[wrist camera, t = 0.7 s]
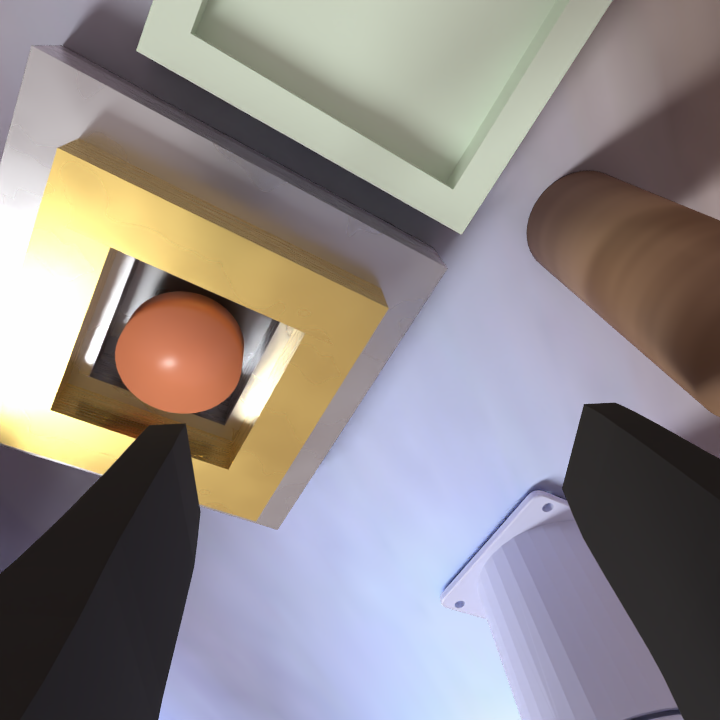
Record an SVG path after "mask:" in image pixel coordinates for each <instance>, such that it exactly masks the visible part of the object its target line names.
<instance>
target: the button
mask: <svg viewBox="0 0 720 720" xmlns="http://www.w3.org/2000/svg"><path fill="white" fill-rule="evenodd" d="M243 355H244V339H243V334H242V331H241V329H240V326H239V325H238V323H237V321H236V320H235V318H234V317H233V315H232V314H231V313H230V312H229V311H228V310H227V309H226V308H224V307H223V306H222V305H221V304H219V303H218V302H216V301H214V300H213V299H211V298H209V297H206V296H203V295H201V294H197V293H193V292H185V291H175V292H167V293H163V294H159V295H157V296H154V297H152V298H150V299H148V300H146V301H145V302H144V303H142V304H141V305H140V306H139V307H138V308H137V309H136V310H135V312H134V313H133V314H132V316H131V318H130V319H129V321H128V323H127V324H126V326H125V328H124V330H123V331H122V333H121V335H120V337H119V339H118V342H117V345H116V351H115V362H116V367H117V370H118V373H119V375H120V377H121V379H122V381H123V383H124V384H125V386H126V387H127V388H128V389H129V390H130V391H131V393H133V394H134V395H135V396H136V397H137V398H138V399H140V400H141V401H143V402H144V403H146V404H148V405H150V406H152V407H154V408H157V409H159V410H163V411H166V412H171V413H180V414H189V413H197V412H201V411H205V410H208V409H211V408H213V407H215V406H217V405H218V404H220V403H221V402H223V401H224V400H225V399H226V398H228V397H229V396H230V394H231V393H232V392H233V391H234V389H235V388H236V386H237V384H238V381H239V379H240V375H241V369H242V362H243Z"/></svg>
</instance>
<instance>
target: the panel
mask: <svg viewBox="0 0 720 720" xmlns="http://www.w3.org/2000/svg"><path fill="white" fill-rule="evenodd" d="M446 270H447V267H446V265H445V264H444V262H443V261H442V260H441V258H440V257H439V255H438V254H437V253H436V251H435V250H434V248H433V247H431V246H429V245H427V244H426V243H424V242H422V241H420V240H418V239H416V238H415V237H413V236H411V235H409V234H407V233H405V232H404V231H402V230H400V229H398V228H396V227H394V226H392V225H391V224H389V223H387V222H385V221H383V220H381V219H380V218H378V217H376V216H374V215H372V214H370V213H369V212H367V211H365V210H363V209H361V208H359V207H358V206H356V205H354V204H352V203H350V202H348V201H347V200H345V199H343V198H341V197H339V196H337V195H336V194H334V193H332V192H330V191H328V190H326V189H325V188H323V187H321V186H319V185H317V184H315V183H314V182H312V181H310V180H308V179H306V178H304V177H303V176H301V175H299V174H297V173H295V172H293V171H291V170H290V169H288V168H286V167H284V166H282V165H280V164H279V163H277V162H275V161H273V160H271V159H269V158H268V157H266V156H264V155H262V154H260V153H258V152H257V151H255V150H253V149H251V148H249V147H247V146H246V145H244V144H242V143H240V142H238V141H236V140H235V139H233V138H231V137H229V136H227V135H225V134H224V133H222V132H220V131H218V130H216V129H214V128H213V127H211V126H209V125H207V124H205V123H203V122H202V121H200V120H198V119H196V118H194V117H192V116H190V115H189V114H187V113H185V112H183V111H181V110H179V109H178V108H176V107H174V106H172V105H170V104H168V103H167V102H165V101H163V100H161V99H159V98H157V97H156V96H154V95H152V94H150V93H148V92H146V91H145V90H143V89H141V88H139V87H137V86H135V85H134V84H132V83H130V82H128V81H126V80H124V79H123V78H121V77H119V76H117V75H115V74H113V73H112V72H110V71H108V70H106V69H104V68H102V67H101V66H99V65H97V64H95V63H93V62H91V61H89V60H88V59H86V58H84V57H82V56H80V55H78V54H77V53H75V52H73V51H71V50H69V49H67V48H66V47H64V46H62V45H32V46H31V49H30V53H29V57H28V61H27V65H26V68H25V72H24V76H23V80H22V84H21V87H20V91H19V95H18V99H17V103H16V106H15V110H14V114H13V118H12V122H11V125H10V129H9V133H8V137H7V141H6V144H5V148H4V152H3V156H2V160H1V163H0V445H2V446H5V447H8V448H12V449H15V450H18V451H21V452H25V453H28V454H31V455H34V456H38V457H41V458H44V459H48V460H51V461H54V462H57V463H61V464H64V465H67V466H70V467H74V468H77V469H80V470H84V471H87V472H90V473H93V474H97V475H100V476H102V475H103V474H104V473H105V472H106V471H107V470H108V469H109V468H110V467H111V466H112V464H113V463H114V462H115V461H116V460H117V459H118V458H119V457H120V456H121V455H122V454H123V453H124V451H125V450H126V449H127V448H128V447H129V446H130V445H131V444H132V443H133V442H134V441H135V439H136V438H137V437H138V436H139V435H140V434H141V433H142V432H143V431H144V430H145V429H146V428H147V427H148V426H149V425H163V424H184V423H186V428H187V434H188V440H189V446H190V452H191V458H192V464H193V470H194V476H195V482H196V488H197V494H198V500H199V506H201V507H205V508H208V509H211V510H214V511H218V512H221V513H224V514H227V515H231V516H234V517H237V518H241V519H244V520H247V521H250V522H254V523H257V524H260V525H263V526H267V527H270V528H273V529H276V530H278V528H279V527H280V525H281V524H282V522H283V521H284V519H285V518H286V516H287V514H288V513H289V511H290V510H291V508H292V507H293V505H294V504H295V502H296V501H297V499H298V498H299V496H300V494H301V493H302V491H303V490H304V488H305V487H306V485H307V484H308V482H309V481H310V479H311V478H312V476H313V474H314V473H315V471H316V470H317V468H318V467H319V465H320V464H321V462H322V461H323V459H324V458H325V456H326V454H327V453H328V451H329V450H330V448H331V447H332V445H333V444H334V442H335V441H336V439H337V438H338V436H339V434H340V433H341V431H342V430H343V428H344V427H345V425H346V424H347V422H348V421H349V419H350V418H351V416H352V414H353V413H354V411H355V410H356V408H357V407H358V405H359V404H360V402H361V401H362V399H363V398H364V396H365V394H366V393H367V391H368V390H369V388H370V387H371V385H372V384H373V382H374V381H375V379H376V378H377V376H378V374H379V373H380V371H381V370H382V368H383V367H384V365H385V364H386V362H387V361H388V359H389V358H390V356H391V354H392V353H393V351H394V350H395V348H396V347H397V345H398V344H399V342H400V341H401V339H402V338H403V336H404V335H405V333H406V331H407V330H408V328H409V327H410V325H411V324H412V322H413V321H414V319H415V318H416V316H417V315H418V313H419V311H420V310H421V308H422V307H423V305H424V304H425V302H426V301H427V299H428V298H429V296H430V295H431V293H432V291H433V290H434V288H435V287H436V285H437V284H438V282H439V281H440V279H441V278H442V276H443V275H444V273H445V271H446ZM175 291H185V292H193V293H197V294H201V295H203V296H206V297H209V298H211V299H213V300H214V301H216V302H218V303H219V304H221V305H222V306H223V307H224V308H226V309H227V310H228V311H229V312H230V313H231V314H232V315H233V317H234V318H235V320H236V321H237V323H238V325H239V326H240V329H241V331H242V334H243V339H244V355H243V362H242V369H241V375H240V379H239V381H238V384H237V386H236V388H235V389H234V391H233V392H232V393H231V394H230V396H229V397H228V398H226V399H225V400H224V401H223V402H221V403H220V404H218V405H217V406H215V407H213V408H211V409H208V410H205V411H201V412H197V413H189V414H180V413H171V412H166V411H163V410H159V409H157V408H154V407H152V406H150V405H148V404H146V403H144V402H143V401H141V400H140V399H138V398H137V397H136V396H135V395H134V394H133V393H131V391H130V390H129V389H128V388H127V387H126V386H125V384H124V383H123V381H122V379H121V377H120V375H119V373H118V370H117V367H116V362H115V351H116V345H117V342H118V339H119V337H120V335H121V333H122V331H123V330H124V328H125V326H126V324H127V323H128V321H129V319H130V318H131V316H132V314H133V313H134V312H135V310H136V309H137V308H138V307H139V306H140V305H141V304H142V303H144V302H145V301H146V300H148V299H150V298H152V297H154V296H157V295H159V294H163V293H167V292H175Z"/></svg>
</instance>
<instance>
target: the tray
mask: <svg viewBox="0 0 720 720" xmlns="http://www.w3.org/2000/svg"><path fill="white" fill-rule="evenodd" d="M611 2H612V0H153V2H152V5H151V8H150V11H149V14H148V17H147V20H146V23H145V26H144V29H143V32H142V35H141V38H140V41H139V44H138V47H137V50H136V51H137V52H139V53H141V54H143V55H144V56H146V57H148V58H150V59H151V60H153V61H155V62H157V63H158V64H160V65H162V66H164V67H166V68H167V69H169V70H171V71H173V72H174V73H176V74H178V75H180V76H181V77H183V78H185V79H187V80H189V81H190V82H192V83H194V84H196V85H197V86H199V87H201V88H203V89H204V90H206V91H208V92H210V93H212V94H213V95H215V96H217V97H219V98H220V99H222V100H224V101H226V102H227V103H229V104H231V105H233V106H235V107H236V108H238V109H240V110H242V111H243V112H245V113H247V114H249V115H250V116H252V117H254V118H256V119H258V120H259V121H261V122H263V123H265V124H266V125H268V126H270V127H272V128H273V129H275V130H277V131H279V132H281V133H282V134H284V135H286V136H288V137H289V138H291V139H293V140H295V141H296V142H298V143H300V144H302V145H304V146H305V147H307V148H309V149H311V150H312V151H314V152H316V153H318V154H319V155H321V156H323V157H325V158H327V159H328V160H330V161H332V162H334V163H335V164H337V165H339V166H341V167H342V168H344V169H346V170H348V171H349V172H351V173H353V174H355V175H357V176H358V177H360V178H362V179H364V180H365V181H367V182H369V183H371V184H372V185H374V186H376V187H378V188H380V189H381V190H383V191H385V192H387V193H388V194H390V195H392V196H394V197H395V198H397V199H399V200H401V201H403V202H404V203H406V204H408V205H410V206H411V207H413V208H415V209H417V210H418V211H420V212H422V213H424V214H426V215H427V216H429V217H431V218H433V219H434V220H436V221H438V222H440V223H441V224H443V225H445V226H447V227H449V228H450V229H452V230H454V231H456V232H457V233H459V234H461V235H462V233H463V232H464V230H465V229H466V227H467V226H468V224H469V222H470V221H471V219H472V218H473V216H474V215H475V213H476V212H477V210H478V209H479V207H480V205H481V204H482V202H483V201H484V199H485V198H486V196H487V195H488V193H489V191H490V190H491V188H492V187H493V185H494V184H495V182H496V181H497V179H498V177H499V176H500V174H501V173H502V171H503V170H504V168H505V167H506V165H507V163H508V162H509V160H510V159H511V157H512V156H513V154H514V153H515V151H516V150H517V148H518V146H519V145H520V143H521V142H522V140H523V139H524V137H525V136H526V134H527V132H528V131H529V129H530V128H531V126H532V125H533V123H534V122H535V120H536V118H537V117H538V115H539V114H540V112H541V111H542V109H543V108H544V106H545V104H546V103H547V101H548V100H549V98H550V97H551V95H552V94H553V92H554V91H555V89H556V87H557V86H558V84H559V83H560V81H561V80H562V78H563V77H564V75H565V73H566V72H567V70H568V69H569V67H570V66H571V64H572V63H573V61H574V59H575V58H576V56H577V55H578V53H579V52H580V50H581V49H582V47H583V45H584V44H585V42H586V41H587V39H588V38H589V36H590V35H591V33H592V32H593V30H594V28H595V27H596V25H597V24H598V22H599V21H600V19H601V18H602V16H603V14H604V13H605V11H606V10H607V8H608V7H609V5H610V4H611Z"/></svg>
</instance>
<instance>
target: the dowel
mask: <svg viewBox="0 0 720 720" xmlns="http://www.w3.org/2000/svg"><path fill="white" fill-rule="evenodd" d="M527 241H528V246H529V249H530V251H531V253H532V255H533V257H534V258H535V259H536V261H538V262H539V263H540V264H541V265H542V266H543V267H544V268H545V269H546V270H548V271H549V272H550V273H551V274H552V275H553V276H554V277H556V278H557V279H558V280H559V281H560V282H561V283H563V284H564V285H565V286H566V287H567V288H568V289H569V290H571V291H572V292H573V293H574V294H575V295H576V296H577V297H579V298H580V299H581V300H582V301H583V302H584V303H586V304H587V305H588V306H589V307H590V308H591V309H592V310H594V311H595V312H596V313H597V314H598V315H599V316H600V317H602V318H603V319H604V320H605V321H606V322H607V323H608V324H610V325H611V326H612V327H613V328H614V329H615V330H617V331H618V332H619V333H620V334H621V335H622V336H623V337H625V338H626V339H627V340H628V341H629V342H630V343H631V344H633V345H634V346H635V347H636V348H637V349H638V350H640V351H641V352H642V353H643V354H644V355H645V356H646V357H648V358H649V359H650V360H651V361H652V362H653V363H654V364H656V365H657V366H658V367H659V368H660V369H661V370H662V371H664V372H665V373H666V374H667V375H668V376H669V377H671V378H672V379H673V380H674V381H675V382H676V383H677V384H679V385H680V386H681V387H682V388H683V389H684V390H685V391H687V392H688V393H689V394H690V395H691V396H692V397H693V398H695V399H696V400H697V401H698V402H699V403H700V404H702V405H703V406H704V407H705V408H706V409H707V410H708V411H710V412H711V413H713V414H714V415H716V416H719V417H720V221H719V220H717V219H715V218H712V217H710V216H707V215H705V214H702V213H700V212H697V211H695V210H692V209H690V208H688V207H685V206H683V205H680V204H678V203H675V202H673V201H670V200H668V199H665V198H663V197H661V196H658V195H656V194H653V193H651V192H648V191H646V190H643V189H641V188H639V187H636V186H634V185H631V184H629V183H626V182H624V181H621V180H619V179H616V178H614V177H612V176H609V175H607V174H604V173H601V172H597V171H579V172H575V173H571V174H569V175H566V176H564V177H562V178H560V179H559V180H557V181H556V182H554V183H553V184H552V185H551V186H549V187H548V188H547V189H546V190H545V191H544V192H543V193H542V195H541V196H540V197H539V199H538V200H537V202H536V203H535V205H534V207H533V209H532V211H531V214H530V217H529V220H528V225H527Z"/></svg>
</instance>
